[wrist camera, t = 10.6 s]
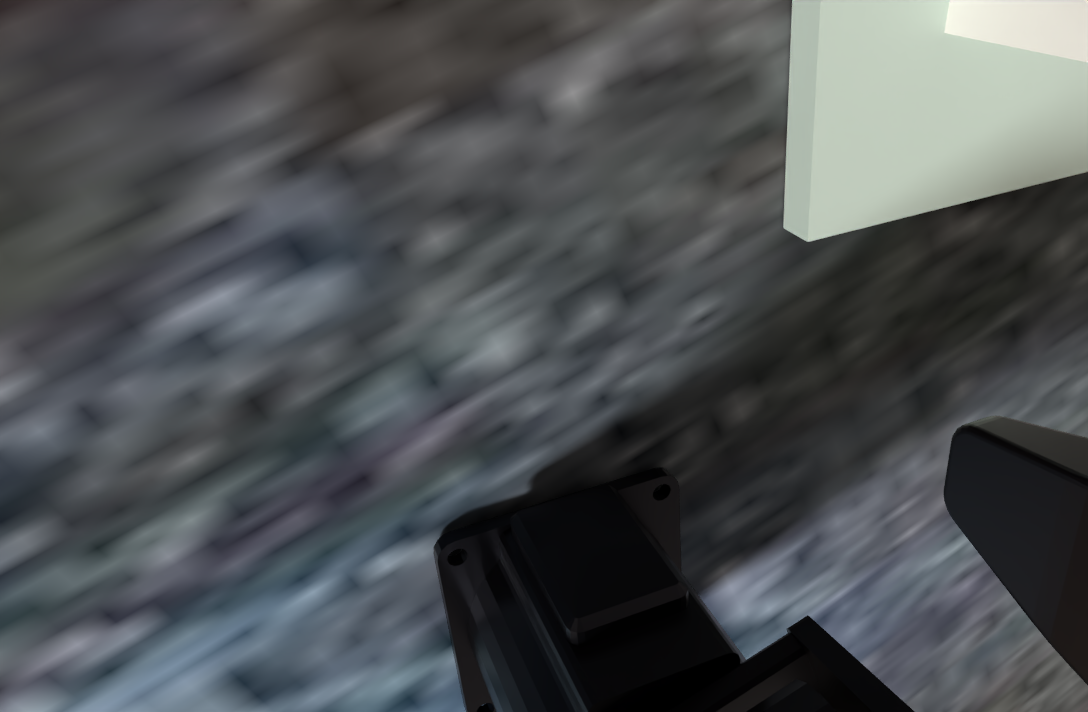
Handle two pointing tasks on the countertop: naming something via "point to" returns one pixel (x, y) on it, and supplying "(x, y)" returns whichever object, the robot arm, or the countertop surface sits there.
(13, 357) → the countertop surface
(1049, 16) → the block
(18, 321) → the countertop surface
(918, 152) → the bracket board
